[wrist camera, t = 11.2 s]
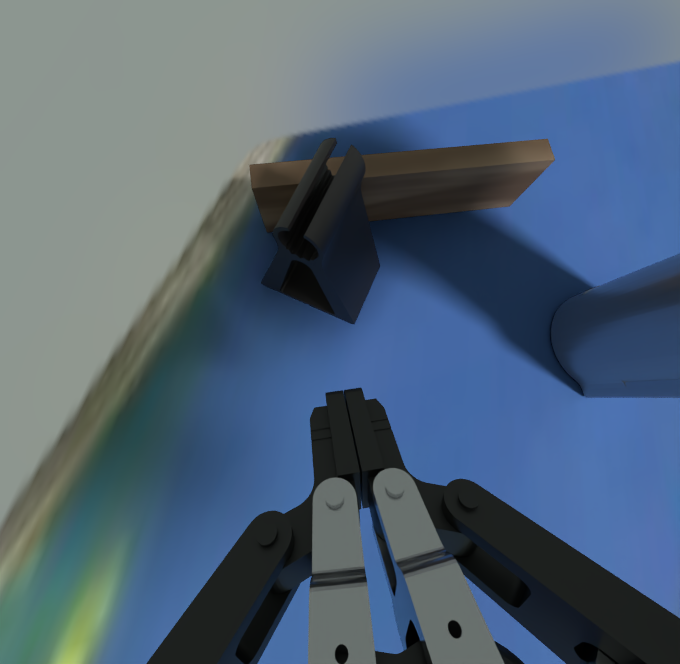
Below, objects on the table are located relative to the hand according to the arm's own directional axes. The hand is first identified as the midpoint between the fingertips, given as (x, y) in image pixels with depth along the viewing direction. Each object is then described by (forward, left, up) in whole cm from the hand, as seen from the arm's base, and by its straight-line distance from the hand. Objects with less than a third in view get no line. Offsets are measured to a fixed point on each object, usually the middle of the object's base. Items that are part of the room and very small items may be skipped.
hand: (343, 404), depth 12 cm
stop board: (+17, -8, -13) cm, 23 cm away
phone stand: (+11, -1, -13) cm, 17 cm away
